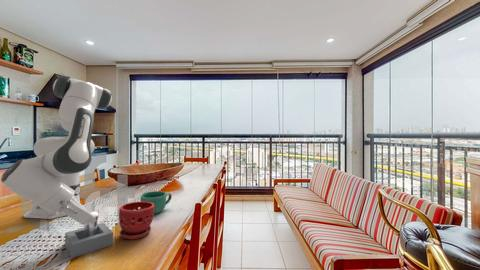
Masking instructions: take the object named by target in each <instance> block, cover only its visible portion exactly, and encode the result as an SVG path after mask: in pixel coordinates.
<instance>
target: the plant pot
mask: <svg viewBox="0 0 480 270" xmlns="http://www.w3.org/2000/svg"><path fill="white" fill-rule="evenodd" d="M154 206H155V205H154V204H153V203H151V202H141V201H132V202H128V203H125V204H124V203H123V205H120V207H119V210H118V220H119V221H118V222H119V227H120V229H121V230H119V236H120V237H121V238H123V239H126V240H135V239H140V238H143V237H145V236H147V235H148V234H149V233H150V232H151V231H152V227H151V225H152V222H153V220H154V215H155V214H154ZM144 208H146V209H144Z"/></svg>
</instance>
